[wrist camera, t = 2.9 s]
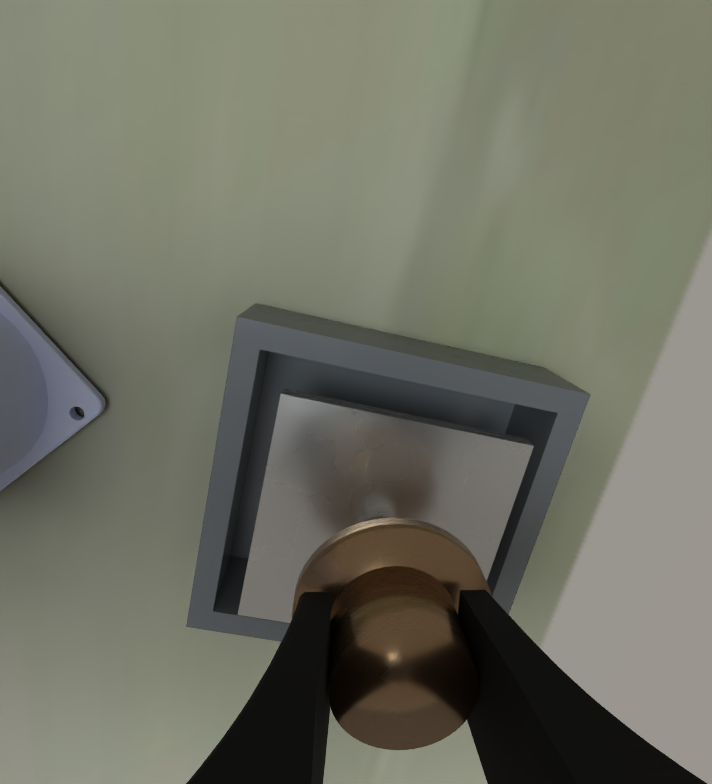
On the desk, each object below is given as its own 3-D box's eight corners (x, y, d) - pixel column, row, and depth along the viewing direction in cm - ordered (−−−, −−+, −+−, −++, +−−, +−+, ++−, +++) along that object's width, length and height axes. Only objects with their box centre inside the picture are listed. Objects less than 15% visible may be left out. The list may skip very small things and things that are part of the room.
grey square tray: (463, 607, 22) (486, 673, 18) (210, 564, 21) (186, 626, 17) (544, 367, 19) (590, 394, 15) (255, 303, 18) (236, 316, 14)
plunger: (458, 637, 17) (523, 846, 11) (240, 601, 17) (187, 806, 10) (526, 438, 15) (651, 563, 9) (282, 387, 15) (245, 489, 8)
